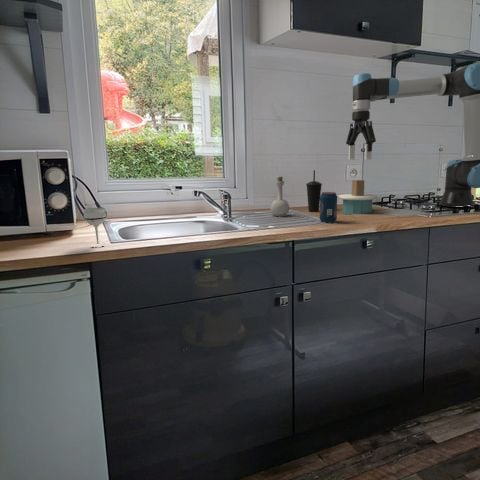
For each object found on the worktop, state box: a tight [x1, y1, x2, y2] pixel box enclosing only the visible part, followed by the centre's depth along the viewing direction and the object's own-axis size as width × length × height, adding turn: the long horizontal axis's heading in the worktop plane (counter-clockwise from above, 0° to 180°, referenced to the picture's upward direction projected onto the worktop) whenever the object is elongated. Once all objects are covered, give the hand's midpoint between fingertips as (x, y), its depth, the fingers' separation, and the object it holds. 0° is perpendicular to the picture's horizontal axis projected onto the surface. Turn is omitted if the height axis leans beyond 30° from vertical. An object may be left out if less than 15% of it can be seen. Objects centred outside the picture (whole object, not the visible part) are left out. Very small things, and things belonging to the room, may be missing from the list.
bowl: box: [342, 199, 373, 216], centre depth 181 cm, size 13×13×7 cm
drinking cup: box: [305, 170, 323, 213], centre depth 188 cm, size 8×8×20 cm
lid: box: [338, 179, 378, 201], centre depth 180 cm, size 17×17×8 cm
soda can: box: [319, 191, 338, 223], centre depth 159 cm, size 7×7×12 cm
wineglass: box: [83, 207, 107, 244], centre depth 123 cm, size 7×7×12 cm
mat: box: [374, 208, 433, 217], centre depth 177 cm, size 18×18×1 cm
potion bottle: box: [270, 176, 290, 217], centre depth 178 cm, size 9×9×18 cm
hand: (359, 159), depth 177 cm, fingers open, 13 cm apart
